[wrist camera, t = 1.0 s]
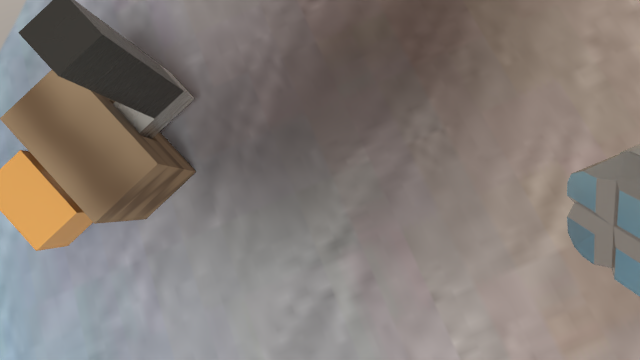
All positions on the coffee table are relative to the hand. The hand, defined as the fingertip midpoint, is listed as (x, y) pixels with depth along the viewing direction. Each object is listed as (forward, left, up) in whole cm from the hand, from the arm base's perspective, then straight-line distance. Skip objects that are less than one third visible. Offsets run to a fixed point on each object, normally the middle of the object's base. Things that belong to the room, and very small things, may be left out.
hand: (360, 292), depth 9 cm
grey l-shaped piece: (+10, -17, -34) cm, 40 cm away
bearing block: (+10, -17, -38) cm, 43 cm away
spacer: (+16, -17, -35) cm, 42 cm away
